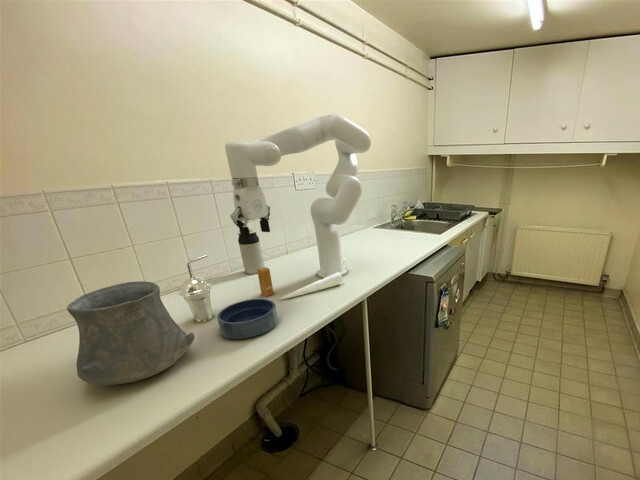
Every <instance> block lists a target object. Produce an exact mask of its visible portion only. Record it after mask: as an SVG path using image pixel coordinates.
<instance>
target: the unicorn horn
mask: <svg viewBox="0 0 640 480" xmlns="http://www.w3.org/2000/svg"><path fill="white" fill-rule="evenodd" d="M343 283H344V278H343V275H341V274H340V273H339V272H337V273H335V274H332V275H330V276H328V277H326V278H324V277H322V278H321V279H318V280H317V281H314V282H311V283H310V284H307V285H306V286H303V287H301V288H298V289H297V290H294V291H293V292H290V293H289V294H286V295H284V296H282V297H281V298H279V300H286V299H290V298H296V297H299V296H302V295H306V294H310V293H315V292H318V291H321V290H322V291H323V290H325V289H328V288H333V287H336V286H339V285H342V284H343Z"/></svg>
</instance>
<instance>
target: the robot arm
mask: <svg viewBox="0 0 640 480" xmlns="http://www.w3.org/2000/svg"><path fill="white" fill-rule="evenodd" d="M329 141H334V145H335V148H336V151H337V155H338V160H337V164H336V165H335V168H334V170H333V172H332V173H331V175H330V177H329V179H328V181H327V183H326V185H325V192H326V194H327V195H328V196H329V197H317V198H316V199H314V200H313V202H312V203H311V205H310V215H311V219H312V222H313V226H314V230H315V231H314V232H315V237H316V246H317V247H316V248H317V255H318V261H319V262H318V263H319V268H318V270H317V271H316V274H317V276H318V277H320V278H326V277H328V276H330V275H332V274H335V273H337V272H339V273H340V274H341V275H342V276H344V275H345V274H347V273H348V268H347V267H346V266H344V263H345V262H346V260H347V259H346V258H345V257H343V252H342V251H343V250H342V241H341V232H340V227H339V226H340V225H341V226H342V225H344V224H345V223H347V221H348V220H349V219H350V218H351V216H352V215H353V212H354V210H355V209H356V208H357V207H356V206H357V205H358V203H359V201H360V199H361V196H362V193H363V186H362V182H361V181H360V179H359V178H357V177H356V176H357V174H358V171H359V162H358V158H357V154H364V153H366V152H368V151H369V150H370V148H371V145H372V140H371V136H370V134H369V133H368V132H367V131H366V130H365V129H363V128H362V127H360V126H359V125H358V124H356V123H355V122H353V121H352V120H349V119H348V118H347V117H345V116H343V115H340V114H337V113H333V114H325V115H320V116H317V117H315V118H312V119H310V120H307V121H305V122H302V123H299V124H297V125H294V126H291V127H288V128H286V129H283V130H280V131H278V132H275V133H273V134H272V133H271V134H270V135H267V136H264V137H262V138H259V139H256V140H253V141H251V142H247V141H228V142H226V143H225V145H224V149H225V154H226V155H225V156H226V158H227V159H226V160H227V164H228V169H229V172H230V173H229V174H230V178H231V185H232V186H233V187H232V188H233V189H232V192H233V194H232V195H233V196H232V197H233V205H234V210H233V212H232V213H231V214H230V219H231V220H232V221H233V224H234V225H236V227H237V228H238V229H239V230H238V231H240V234H241V238H242V239H251V237H250V232H249V229H250V227H248V224H249V221H255V220H258V219H259V226H260V231H261V232H262V233H271V229H270V223H269V222H270V216H271V213H270V212H271V206H270V205H267V201H266V198H265V194H264V191H263V189H262V187H261V186H260V182H259V177H258V172H257V171H258V170H257V167H258V166H260V167H272V166H275V165H277V164H278V163H280V161H281V159H282V157H283V156H287V155H295V154H300V153H303V152H307V151H309V150H311V149H314V148H315V147H318V146H320V145H322V144H325V143H328V142H329Z"/></svg>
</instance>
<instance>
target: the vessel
mask: <svg viewBox="0 0 640 480" xmlns="http://www.w3.org/2000/svg"><path fill="white" fill-rule="evenodd" d="M66 310H67V312H68V313H69V314H70V315H71V317H72V318H73V319H74V321H75V322H76V325H77V328H78V335H79V337H78V338H79V339H78V341H79V344H78V350H77V351H78V352H77V358H76V375H77V377H78V378H79V379H80V380H81V381H82V382H85V383H86V384H90V385H91V384H92V385H97V386H112V385H114V386H115V385H122V384H130V383H134V382H137V381H142V380H144V379H148V378H150V377H153V376H156V375H158V374H159V373H161V372H163V371H166V370H167V369H168V368H170V367H171V366H173V365H174V364H175V363H176V362H177V361H179V359H181V358H182V357H183V355H184V354H185V353H186V352H187V351H188V349H190V347H191V345H192V344H193V342H194V340H195V333H194V332H189V333H187V332H186V331H185V330H183V329H182V328H181V327H180V326H179V324H178V323H177V322H176V321H175V320H174V319H173V317H172V316H171V314H170V313H169V311H168V310H167V308H166V306H165V304H164V303H163V301H162V299H161V288H160V286H159V285H158V284H157V283H155V282H152V281H145V280H144V281H143V280H142V281H128V282H122V283H117V284H113V285H108V286H105V287H102V288H99V289H95V290H92V291H90V292H88V293H84V294H82V295H80V296H79V297H76V298H75V299H74V300H73V301H72V302H70V303H69V304H68V305H67V306H66Z"/></svg>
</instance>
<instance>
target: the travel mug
mask: <svg viewBox="0 0 640 480" xmlns="http://www.w3.org/2000/svg"><path fill="white" fill-rule="evenodd" d="M249 232H250V237H251V239H242V238H241V234H240V230H238V231H236V234H237V235H238V239H237V242H238V246H239V251H240V255H241V259H242V265H243V268H244V269H243V270H244V272H245V273H246V274H248V275H249V274H250V275H253V274H258V271H257V269H259V268H263V267H265V262H264V257H263V252H262V247H261V241H260V237H259V236H258V235H257V229H256V228H255V229H254V228H249ZM265 268H266V267H265Z"/></svg>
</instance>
